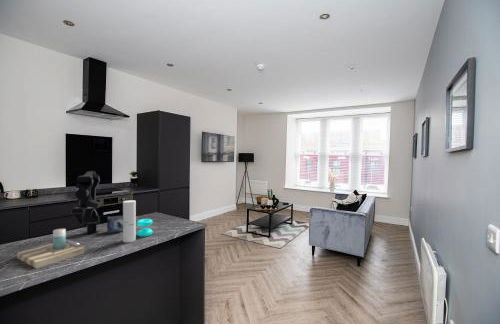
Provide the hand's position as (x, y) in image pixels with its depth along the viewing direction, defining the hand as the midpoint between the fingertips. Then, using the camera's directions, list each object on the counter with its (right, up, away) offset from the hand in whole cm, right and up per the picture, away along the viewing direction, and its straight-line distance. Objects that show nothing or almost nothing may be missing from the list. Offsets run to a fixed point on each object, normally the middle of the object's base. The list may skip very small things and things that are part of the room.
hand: (85, 221), depth 148 cm
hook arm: (0, -10, -11) cm, 15 cm away
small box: (+7, -13, +22) cm, 26 cm away
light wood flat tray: (-4, -13, -20) cm, 24 cm away
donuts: (+30, -13, +16) cm, 36 cm away
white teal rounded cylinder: (-3, -13, -16) cm, 21 cm away
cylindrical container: (+25, -13, +5) cm, 29 cm away
